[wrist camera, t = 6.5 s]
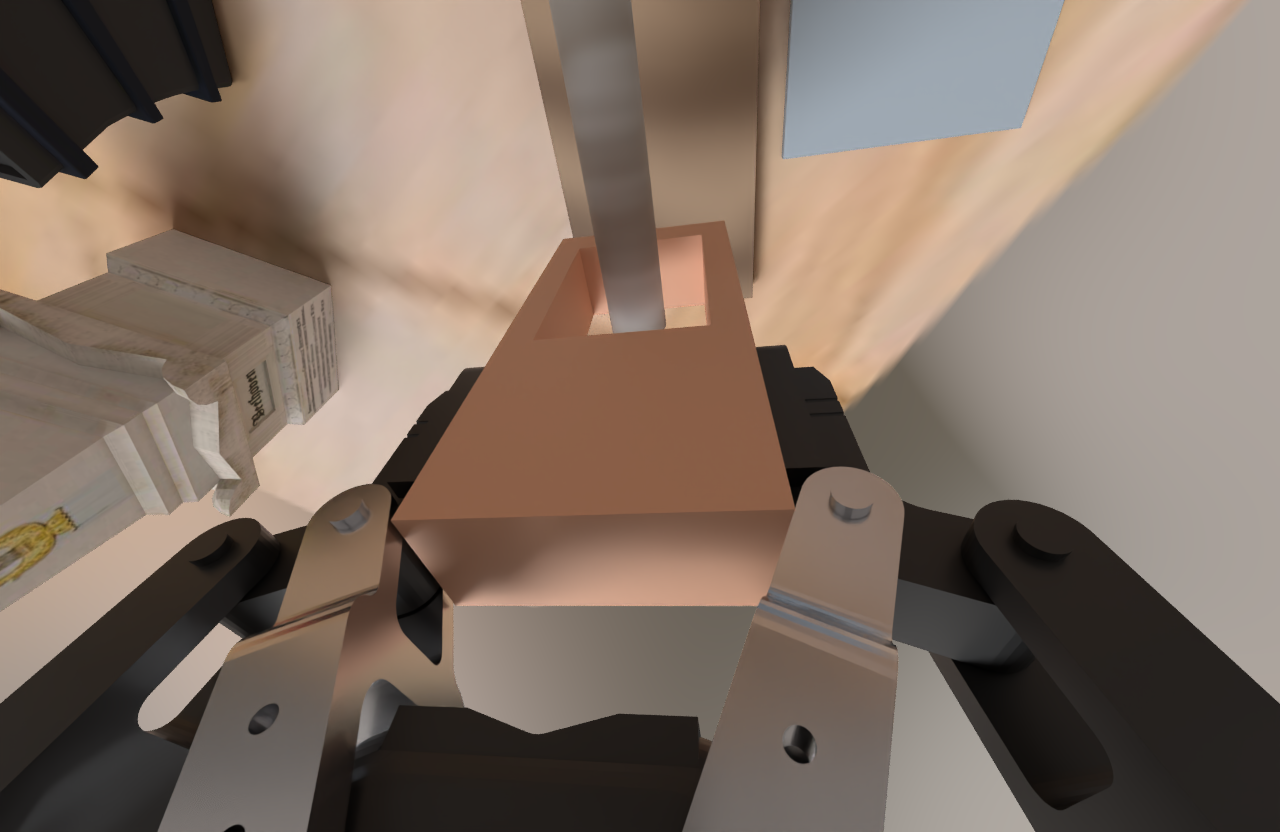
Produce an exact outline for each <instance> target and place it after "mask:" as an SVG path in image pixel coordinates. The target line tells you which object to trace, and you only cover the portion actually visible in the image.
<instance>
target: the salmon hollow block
mask: <svg viewBox="0 0 1280 832" xmlns="http://www.w3.org/2000/svg"><path fill="white" fill-rule="evenodd" d="M656 236H657V245H658V254H659V264H660V273H661V282H662V291H663V301H664V308H674V307H685V306H696V305H705V312H706V323H707V326H695V327H683V328H672V329H660V330H648V331H636V332H625V333H613V334H601V335H589V336H587V334H588V331H589V327H590V324H591V321H592V318H593V315H598V314H609V310H608V304H607V299H606V294H605V289H604V284H603V278H602V273H601V268H600V263H599V258H598V253H597V247H596V242H595V237H594V236H586V237H578V238H569V239H563V240H562V242H561V244H560V245H559V247H558V249H557V250H556V252H555V253H554V255H553V257H552V258H551V260H550V262H549V263H548V265H547V267H546V268H545V270H544V271H543V273H542V275H541V276H540V278H539V280H538V281H537V283H536V284H535V286H534V288H533V289H532V291H531V293H530V294H529V296H528V297H527V299H526V301H525V302H524V304H523V306H522V307H521V309H520V311H519V312H518V314H517V315H516V317H515V319H514V320H513V322H512V324H511V325H510V327H509V328H508V330H507V332H506V333H505V335H504V337H503V338H502V340H501V341H500V343H499V345H498V346H497V348H496V350H495V351H494V353H493V355H492V356H491V358H490V359H489V361H488V363H487V364H486V366H485V368H484V369H483V371H482V372H481V374H480V376H479V377H478V379H477V381H476V382H475V384H474V385H473V387H472V389H471V390H470V392H469V394H468V395H467V397H466V399H465V400H464V402H463V403H462V405H461V407H460V408H459V410H458V412H457V413H456V415H455V416H454V418H453V420H452V421H451V423H450V425H449V426H448V428H447V429H446V431H445V433H444V434H443V436H442V438H441V439H440V441H439V443H438V444H437V446H436V447H435V449H434V451H433V452H432V454H431V456H430V457H429V459H428V460H427V462H426V464H425V465H424V467H423V469H422V470H421V472H420V473H419V475H418V477H417V478H416V480H415V482H414V483H413V485H412V487H411V488H410V490H409V491H408V493H407V495H406V496H405V498H404V500H403V501H402V503H401V504H400V506H399V508H398V509H397V511H396V513H395V514H394V516H393V518H392V519H391V522H392V523H393V524H394V526H395V527H396V528H397V529H398V531H399V532H400V533H401V535H402V536H403V537H404V539H405V540H406V541H407V543H408V544H409V545H410V546H411V548H412V549H413V550H414V552H415V553H416V554H417V556H418V557H419V558H420V560H421V561H422V562H423V564H424V565H425V566H426V567H427V569H428V570H429V571H430V573H431V574H432V575H433V577H434V578H435V579H436V581H437V582H438V583H439V584H440V586H441V587H442V588H443V590H444V591H445V592H446V594H447V595H448V596H449V598H450V599H451V600H452V602H453V603H454V604H455V605H456V606H462V605H463V606H478V605H479V606H486V605H487V606H495V605H496V606H758V604H759V602H760V600H761V598H762V597H763V596H766V595H767V593H768V590H769V588H770V585H771V582H772V579H773V575H774V572H775V569H776V566H777V563H778V560H779V557H780V554H781V551H782V547H783V544H784V541H785V538H786V535H787V532H788V529H789V526H790V523H791V519H792V516H793V513H794V511H795V506H794V502H793V497H792V493H791V489H790V485H789V481H788V477H787V473H786V469H785V465H784V461H783V457H782V453H781V449H780V445H779V441H778V436H777V432H776V428H775V424H774V420H773V416H772V412H771V408H770V404H769V400H768V396H767V392H766V388H765V384H764V379H763V375H762V371H761V367H760V363H759V359H758V355H757V351H756V347H755V343H754V339H753V335H752V331H751V327H750V323H749V318H748V314H747V310H746V306H745V302H744V298H743V294H742V290H741V286H740V282H739V278H738V274H737V270H736V266H735V261H734V257H733V253H732V249H731V245H730V241H729V237H728V233H727V229H726V225H725V221H715V222H707V223H698V224H689V225H681V226H672V227H664V228H656Z"/></svg>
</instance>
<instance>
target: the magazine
mask: <svg viewBox="0 0 1280 832" xmlns="http://www.w3.org/2000/svg"><path fill="white" fill-rule="evenodd" d="M231 85H232V79H231V75H230V71H229V67H228V63H227V59H226V56H225V52H224V48H223V44H222V40H221V36H220V32H219V28H218V24H217V21H216V17H215V13H214V9H213V5H212V1H211V0H0V178H3V179H7V180H11V181H14V182H18V183H22V184H25V185H29V186H32V187H36V188H42V187H43V186H44V185H45V184H46V183H47V182H48V181H49V180H50V179H52V178H53V177H54V176H55V175H56V174H57V173H58V172H61V173H65V174H68V175H72V176H75V177H79V178H83V179H87V178H88V177H89V176H90V175H91V174H92V173H93V172H94V171H95V170H96V169H97V168H98V165H97V164H96V163H95V162H94V161H93V160H92V159H91V158H90V157H89V156H88V155H87V154H86V153H85V152H84V151H83V149H84V148H85V147H86V146H87V145H88V144H90V143H91V142H92V141H93V140H94V139H95V138H96V137H97V136H98V135H99V134H100V133H101V132H102V131H104V130H105V129H106V128H107V127H108V126H110V125H111V124H113V123H115V122H117V121H119V120H120V119H122V118H124V117H126V116H130V117H133V118H137V119H140V120H143V121H147V122H150V123H156V122H158V121H160V120H162V119H163V116H162V115H161V113H160V112H159V110H158V108H157V107H156V105H155V104H154V103H155V102H157V101H160V100H163V99H166V98H169V97H171V96H174V95H178V94H182V93H183V94H186V95H189V96H192V97H196V98H199V99H202V100H205V101H209V102H219V101H222V99H221V96H220V93H219V91H218V88H222V87H229V86H231Z"/></svg>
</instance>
